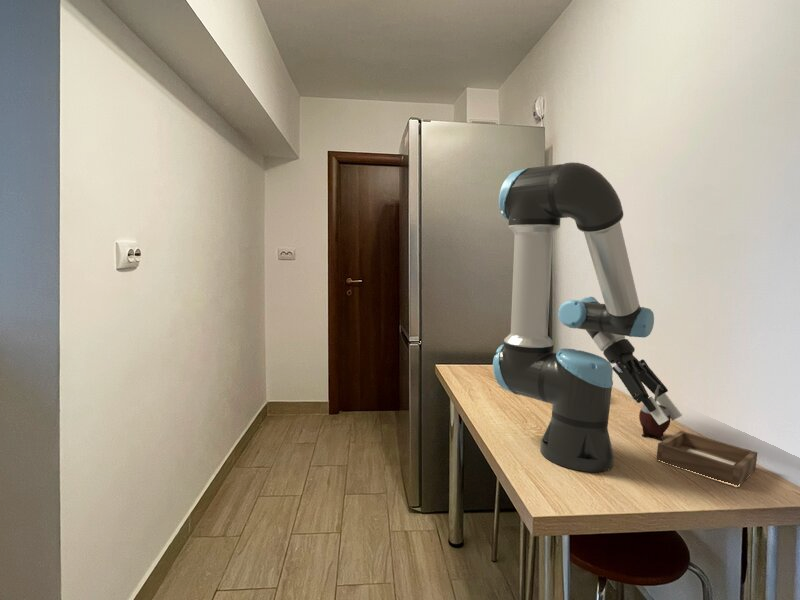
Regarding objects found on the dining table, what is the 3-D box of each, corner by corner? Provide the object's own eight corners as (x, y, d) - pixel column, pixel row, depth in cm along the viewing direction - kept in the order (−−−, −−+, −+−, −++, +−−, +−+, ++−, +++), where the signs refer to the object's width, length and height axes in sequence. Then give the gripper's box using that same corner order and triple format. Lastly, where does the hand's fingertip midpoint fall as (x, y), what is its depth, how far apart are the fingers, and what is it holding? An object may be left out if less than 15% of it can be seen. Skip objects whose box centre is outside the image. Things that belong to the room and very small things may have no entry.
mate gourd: (653, 430, 120) (659, 376, 119) (677, 442, 113) (684, 384, 111) (629, 431, 119) (635, 376, 117) (652, 443, 111) (659, 384, 110)
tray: (737, 488, 89) (739, 469, 88) (656, 460, 100) (658, 443, 100) (755, 469, 98) (757, 452, 98) (679, 446, 110) (681, 430, 109)
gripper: (605, 339, 116) (665, 419, 104) (642, 335, 128) (699, 407, 116) (585, 355, 121) (639, 433, 109) (622, 350, 132) (675, 421, 120)
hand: (670, 419), depth 112 cm, fingers closed on mate gourd, 7 cm apart
